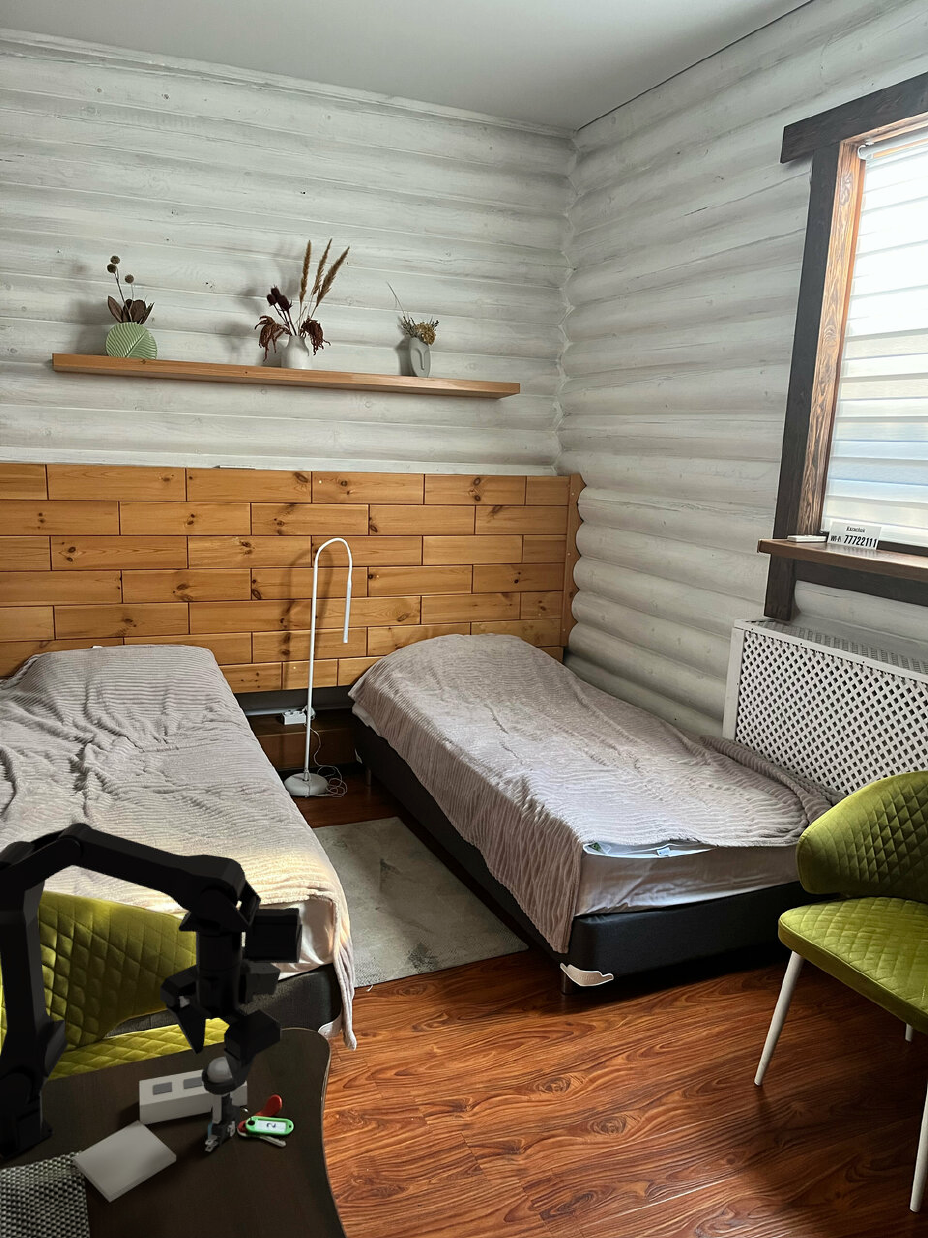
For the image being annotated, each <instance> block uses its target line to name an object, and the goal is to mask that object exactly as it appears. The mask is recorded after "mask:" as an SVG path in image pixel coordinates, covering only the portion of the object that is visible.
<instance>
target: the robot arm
mask: <svg viewBox="0 0 928 1238" xmlns="http://www.w3.org/2000/svg"><path fill="white" fill-rule="evenodd" d="M72 866H74V867H77V868H79V869H80V868H81V869H84V870H87V871H91V872H94V873H97V874H101V875H103V876H107V877H110V878H114V879H117V880H120V881H123V882H126V883H130V884H133V885H136V886H139V887H143V888H146V889H150V890H153V891H155V892H160V893H162V894H164V895H167V896H168V897H170V898H171V899H172V900H173V901H174V902H175V903H176V904H177V905H179V907H180V908H182V909H184V910H185V911H187V912H186V913H185V914H184V915H183V918H182V919H181V922H180V923H179V925H178V931H179V932H181V933H182V932H185V933H187V932H188V933H190V932H191V933H195V964H194V965H192V966H189V967H187V968H184V969H182V970H181V971H178V972H175V973H173V974H171V975H169V976H167V977H165V979H164V980H163V982H162V983H161V985H160V986H159V1000H160V1001H162V1002H164V1004H165V1008H166V1009H167V1010H168V1011H169V1013H170V1014H171V1016H172V1017H173V1019H174V1021H175V1022H176V1024H177V1026H178V1028H179V1029H180V1030H181V1031H180V1032H181V1033H182V1034H183V1035H184V1038H185V1039H186V1041H187V1042H188V1044H189V1046H190V1048H191V1050H192V1051H193V1054H195V1055H198V1054H201V1053H202V1052H204V1045H205V1040H206V1025H207V1019H209V1020H211V1021H212V1020H214V1019H216V1018H218V1019H220V1020H221V1021H223V1022H224V1023H225V1024H226V1025H228V1027H227V1028H226V1030H225V1032H224V1033H223V1043H224V1045H225V1047H224V1048H223V1049H222V1051H223V1053H224V1057H226V1060H227V1063H228V1066H229V1069H230V1072H231V1075H232V1077H233V1080H234V1082H235V1085H236V1086H237V1087H240V1086H242V1085H243V1084H244V1083H245V1081H246V1082H247V1078H248V1076H249V1073H250V1071H251V1070H252V1066H253V1065H254V1062H255V1059H256V1057H257V1055H258V1054H260V1053H262V1052H264V1051H265V1050H267V1049H268V1048H270V1047H272V1046H274V1045H276V1044H277V1043H279V1042H281V1040H282V1023H281V1022H280V1021H278V1020H277V1019H275V1018H274V1017H272V1016H271V1015H270V1014H268V1013H266V1012H265V1011H263V1010H261V1009H260V1008H258V1009H257V1010H254V1011H252V1012H251V1013H248V1012H246V1011H244V1010H243V1009H241V1006H242V1005H244V1006H247V1005H248V1004H251V1003H252V1002H254V996H264V995H268V996H273V995H275V993H276V989H277V986H278V982H279V979H280V975H281V973H282V970H281V969H280V968H279V967H277V966H275V965H274V964H296V965H297V964H299V963H300V959H301V952H302V943H303V928H304V927H303V926H304V925H303V923H302V919H301V916H300V908H299V907H286V908H260V905H261V903H262V898H261V896H260V895H259V894H258V893H257V891H256V890H255V889H254V888H253V886H252V885H251V884H250V883H249V881H248V880H247V878H246V873H245V870H244V869H243V868H242V865H241V863H239V861H237V860H235V859H233V858H231V857H226V856H220V855H211V854H206V853H205V854H195V855H194V854H193V855H191V854H190V855H182V854H176V853H173V852H169V851H166V850H163V849H160V848H157V847H153V846H150V845H147V844H143V843H140V842H137V841H135V840H131V839H128V838H125V837H121V836H119V835H114V834H113V833H112V834H111V833H108V832H104V831H103V830H98V829H96V828H93V827H92V826H91V825H89V824H88V823H85V822H76V823H72V824H70V825H68V826H67V827H65V828H63V829H60V830H57V831H56V830H55V831H53V832H48V833H46V834H43V835H42V836H38V837H37V838H35V839H33V840H31V841H26V840H18V841H13V842H12V843H8V845H6V846H5V847H4V848H3V849H2V850H1V851H0V970H1V971H0V972H1V983H2V992H3V1001H4V1012H5V1020H6V1021H5V1022H6V1030H5V1031H6V1032H5V1036H4V1039H3V1041H2V1042H3V1043H2V1045H1V1049H0V1157H1V1159H2V1160H4V1161H5V1160H8V1159H10V1158H12V1157H14V1156H16V1155H18V1154H20V1153H21V1152H23V1151H25V1150H27V1149H29V1148H31V1147H32V1146H34V1145H35V1146H36V1144H38V1143H40V1142H42V1141H43V1140H46V1139H47V1138H49V1137H50V1136H53V1135H54V1133H55V1129H54V1128H53V1126H52V1125H50V1124H49V1123H48V1122H47V1121H46V1120H45V1118H44V1117H43V1105H42V1102H43V1101H42V1090H43V1088H44V1086H45V1085H46V1083H47V1081H48V1079H49V1078H50V1077H51V1074H52V1073H53V1071H54V1070H55V1067H56V1066H57V1064H58V1062H59V1061H60V1060H61V1057H62V1055H63V1054H64V1052H65V1051H66V1049H67V1047H68V1045H69V1042H68V1041H67V1039H66V1036H65V1028H66V1021H65V1019H57V1020H54V1019H53V1018H52V1017H51V1016H50V1014H49V1013H48V1010H47V1003H46V1002H47V1001H46V992H45V982H44V970H43V969H44V968H43V959H42V948H41V937H40V927H39V906H40V903H41V899H42V896H43V893H44V889H45V885H46V880H48V879H49V878H51V877H53V876H54V875H56V874H58V873H60V872H61V871H63V870H65V869H67V868H69V867H72ZM239 902H240V906H239V907H238V903H239ZM237 907H238V908H237ZM243 933H244V945H243Z"/></svg>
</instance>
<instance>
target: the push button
mask: <svg viewBox="0 0 928 1238" xmlns="http://www.w3.org/2000/svg"><path fill="white" fill-rule="evenodd" d="M202 1070H203V1071H202V1081H203V1086H204V1088H205V1090H206V1091H208V1092H210V1093H212V1095H213V1106H212V1108H211V1112H210V1119H211V1121H209V1123H208V1126H207V1139H206V1141H205V1143H204V1144H205V1145H206V1147H205V1149H204V1150H205V1151H207V1152H211V1151H212V1150H213V1148H215V1147H216V1146H221V1145H222V1144H223V1142H224V1141H225V1139H227V1137H228V1135H229V1136H230V1137H232V1136H233V1135H234V1133H235V1130H236V1128H237V1127H238V1125H240V1121H241V1119H240V1118H241V1117H240V1113H241V1112H240V1111H241V1109H240V1107H241V1106H235V1105H233V1101H232V1091H235V1090H236V1089H237V1088H238V1087H237V1086H236V1085H235V1082H234V1080H233V1077H232V1075H231V1072H230V1069H229V1066H228V1063H227V1060H226V1057H225V1056H221V1057H218V1058H215V1059H213V1060H212V1061H210V1063H209V1064H207V1065H206V1066H204V1068H203V1069H202ZM208 1079H209V1080H208Z"/></svg>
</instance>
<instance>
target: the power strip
mask: <svg viewBox="0 0 928 1238" xmlns="http://www.w3.org/2000/svg"><path fill="white" fill-rule="evenodd" d="M203 1070H204V1069H199V1070H195V1071H194V1070H193V1071H187V1072H182V1073H177V1074H171V1075H165V1076H160V1077H154V1078H148V1079H143V1080H139V1121H140V1122H141V1123H142V1124H143V1125H144V1126H145V1125H149V1124H154V1123H158V1122H164V1121H170V1120H175V1119H180V1118H185V1117H190V1116H195V1115H201V1114H205V1113H211V1108H212V1106H213V1095H212V1093H210V1092H208V1091H206V1090H205V1088H204V1086H203V1081H202V1071H203ZM208 1080H209V1079H208ZM232 1101H233V1105H235V1106H239V1107H241V1106H246V1105H247V1106H248V1083H247V1080H246V1081H245V1083H244V1084H243V1085H242V1086H240V1087H238V1088H237V1089H236V1090H235V1091H232Z"/></svg>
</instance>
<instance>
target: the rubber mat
mask: <svg viewBox="0 0 928 1238" xmlns="http://www.w3.org/2000/svg"><path fill="white" fill-rule="evenodd" d="M176 1161H177V1155H176V1153H174V1152H173V1151H172V1150H171V1149H170V1148H169V1147H168V1145H165V1143H163V1142H162V1141H161V1140H160V1139H159V1138H158V1137H157V1136H156V1135H155V1134H154V1133H153V1132H152V1131H151V1130H149V1128H147V1127H146V1126H145V1124H144V1125H143V1124H142V1123H141V1122H140V1119H139V1120H138V1119H137V1120H136V1121H134V1122H132V1123H131V1124H128V1125H127V1126H125V1127H124V1128H121V1129H120V1130H118V1131H116V1132H115V1133H113V1134H111V1135H109V1136H107V1137H106V1138H104V1139H102V1140H101V1141H99V1142H97V1143H95V1144H93V1145H91V1146H90V1147H89V1148H87V1149H85V1150H84V1151H82V1152H79V1153H77V1154H76V1155H74V1156H72V1163H73V1164H74V1166H75V1167H76V1168H77V1169H78V1170H79V1171H80V1172H81V1173H82V1174H83V1175H84V1176H85V1177H86V1178H87V1180H88V1181H89V1182H90V1183H91V1184H93V1186H94V1187H95V1188H96V1189H97V1191H99V1192H100V1193H101V1195H102V1196H103V1197H104V1198H105V1199H106V1200H107V1201H108V1203H111V1202H112V1201H114V1200H115V1199H117V1198H119V1197H121V1196H122V1195H123V1194H125V1193H127V1192H128V1191H130V1190H133V1188H135V1187H136V1186H138V1185H139V1184H141V1183H143V1182H144V1181H146V1180H148V1179H149V1178H151V1177H153V1176H154V1175H156V1174H157V1173H158V1172H160V1171H162V1170H164V1169H165V1168H167V1167H168V1166H170V1165H171V1164H173V1163H175V1162H176Z"/></svg>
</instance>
